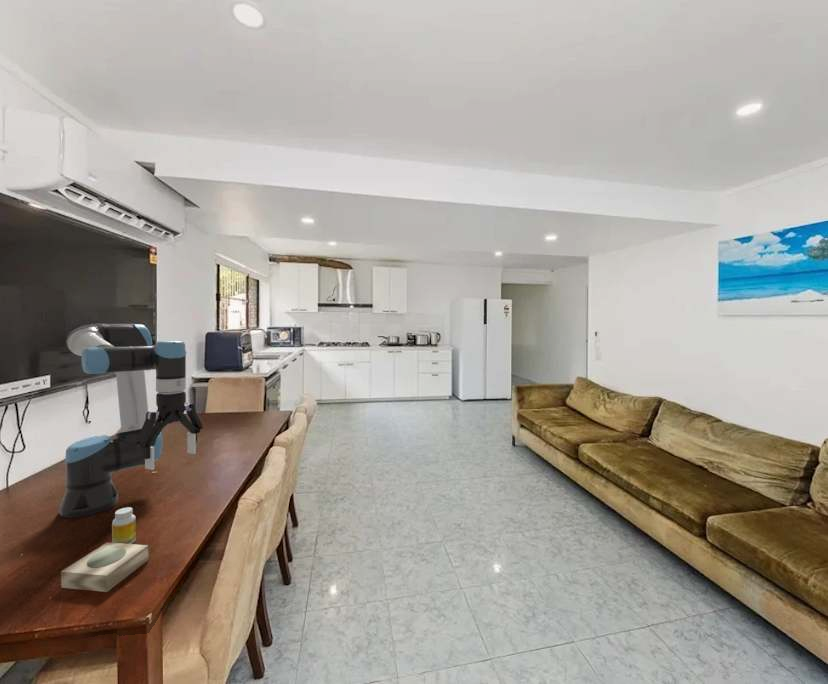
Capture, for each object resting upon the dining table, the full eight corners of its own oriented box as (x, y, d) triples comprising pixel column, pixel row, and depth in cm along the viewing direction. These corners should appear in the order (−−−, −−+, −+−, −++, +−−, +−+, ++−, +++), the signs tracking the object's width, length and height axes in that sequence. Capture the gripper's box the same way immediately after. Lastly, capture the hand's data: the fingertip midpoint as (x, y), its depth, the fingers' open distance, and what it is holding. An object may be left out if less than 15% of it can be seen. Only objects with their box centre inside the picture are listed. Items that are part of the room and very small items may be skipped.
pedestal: (61, 587, 88) (60, 570, 88) (107, 556, 100) (107, 541, 100) (106, 591, 87) (106, 574, 87) (148, 559, 99) (148, 544, 99)
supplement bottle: (111, 542, 106) (110, 510, 106) (134, 535, 110) (133, 504, 110) (114, 550, 102) (113, 517, 102) (137, 542, 106) (137, 510, 106)
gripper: (137, 400, 98) (139, 478, 99) (214, 386, 122) (215, 449, 123) (118, 398, 100) (119, 474, 101) (197, 384, 124) (197, 446, 125)
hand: (171, 460), depth 112 cm, fingers open, 13 cm apart
